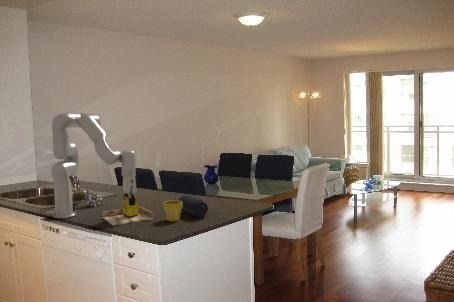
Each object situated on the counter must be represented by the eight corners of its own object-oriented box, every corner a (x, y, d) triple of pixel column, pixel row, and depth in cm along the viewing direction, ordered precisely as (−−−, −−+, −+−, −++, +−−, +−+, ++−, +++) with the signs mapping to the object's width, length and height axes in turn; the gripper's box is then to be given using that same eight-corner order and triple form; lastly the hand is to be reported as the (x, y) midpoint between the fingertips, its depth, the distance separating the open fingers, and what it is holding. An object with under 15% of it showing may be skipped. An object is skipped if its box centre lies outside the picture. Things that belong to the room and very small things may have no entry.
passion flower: (95, 215, 284) (86, 202, 276) (85, 210, 290) (77, 197, 283) (108, 203, 289) (100, 190, 282) (98, 198, 296) (90, 185, 289)
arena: (113, 225, 233) (112, 218, 232) (103, 218, 250) (102, 211, 249) (153, 219, 243) (152, 212, 243) (140, 213, 261) (140, 206, 260)
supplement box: (123, 216, 249) (122, 196, 248) (131, 214, 253) (131, 195, 252) (129, 217, 245) (128, 197, 244) (138, 215, 249) (137, 196, 248)
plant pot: (186, 220, 240) (185, 202, 240) (169, 223, 235) (168, 204, 234) (177, 216, 249) (177, 199, 248) (160, 219, 243) (160, 201, 243)
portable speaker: (211, 217, 245) (210, 199, 244) (194, 220, 240) (193, 201, 239) (191, 209, 267) (190, 193, 266) (175, 212, 262) (175, 195, 261)
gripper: (140, 174, 241) (141, 205, 243) (130, 170, 256) (131, 200, 258) (126, 175, 238) (127, 207, 239) (117, 171, 252) (118, 201, 254)
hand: (129, 203), depth 248 cm, fingers open, 9 cm apart
